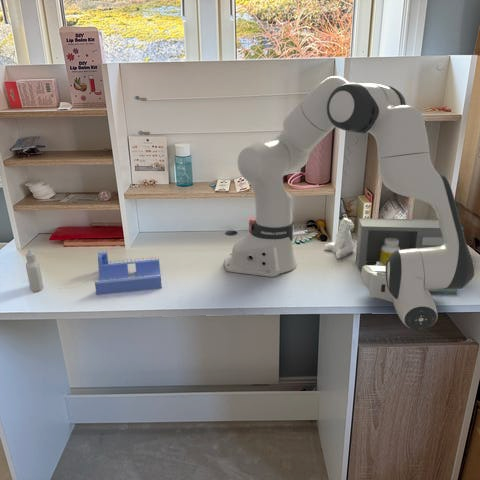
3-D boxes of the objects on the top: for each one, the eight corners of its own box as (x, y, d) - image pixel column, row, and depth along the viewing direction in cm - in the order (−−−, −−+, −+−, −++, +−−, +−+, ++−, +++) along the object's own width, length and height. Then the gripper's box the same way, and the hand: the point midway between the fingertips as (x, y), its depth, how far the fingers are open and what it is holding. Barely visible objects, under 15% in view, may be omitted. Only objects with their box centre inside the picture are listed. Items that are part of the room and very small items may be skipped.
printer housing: (358, 270, 142) (362, 226, 137) (355, 259, 149) (359, 218, 144) (454, 273, 139) (462, 229, 134) (447, 262, 146) (453, 220, 141)
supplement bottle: (390, 275, 139) (394, 244, 135) (375, 269, 142) (378, 239, 139) (401, 269, 142) (404, 239, 138) (385, 264, 146) (389, 235, 142)
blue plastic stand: (96, 296, 130) (93, 273, 127) (101, 271, 145) (98, 250, 143) (161, 289, 133) (159, 266, 131) (159, 266, 148) (157, 245, 146)
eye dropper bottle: (24, 292, 132) (16, 253, 128) (34, 283, 137) (27, 245, 133) (39, 292, 132) (31, 253, 127) (48, 283, 137) (41, 245, 133)
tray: (414, 292, 128) (415, 286, 128) (406, 274, 138) (406, 269, 138) (456, 293, 127) (457, 287, 126) (444, 276, 137) (445, 270, 136)
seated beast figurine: (322, 249, 158) (324, 215, 154) (344, 245, 161) (346, 212, 157) (337, 259, 150) (340, 224, 146) (360, 255, 153) (363, 220, 149)
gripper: (450, 277, 116) (436, 255, 129) (366, 274, 118) (360, 253, 131) (447, 300, 118) (432, 276, 131) (364, 296, 121) (358, 273, 133)
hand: (395, 264), depth 131 cm, fingers open, 8 cm apart
